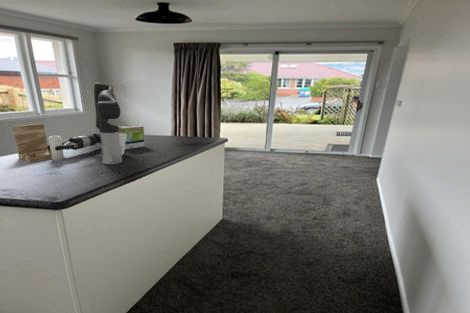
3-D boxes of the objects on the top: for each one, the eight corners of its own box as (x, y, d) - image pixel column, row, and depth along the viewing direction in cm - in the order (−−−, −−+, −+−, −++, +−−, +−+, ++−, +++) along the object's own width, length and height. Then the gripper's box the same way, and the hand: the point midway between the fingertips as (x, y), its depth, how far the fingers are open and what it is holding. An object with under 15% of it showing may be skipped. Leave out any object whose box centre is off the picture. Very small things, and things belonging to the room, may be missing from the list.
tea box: (125, 150, 165) (123, 128, 161) (117, 147, 171) (115, 126, 167) (145, 146, 177) (143, 126, 173) (137, 144, 183) (135, 124, 179)
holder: (59, 156, 144) (55, 126, 139) (31, 162, 132) (25, 129, 128) (47, 153, 151) (42, 123, 146) (19, 158, 139) (12, 126, 134)
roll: (66, 159, 141) (62, 136, 137) (55, 161, 136) (51, 137, 132) (60, 157, 143) (57, 135, 140) (50, 159, 138) (46, 136, 135)
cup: (120, 157, 147) (118, 137, 144) (102, 156, 149) (100, 135, 146) (131, 153, 159) (130, 134, 155) (115, 151, 161) (113, 132, 157)
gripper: (70, 135, 152) (41, 140, 136) (87, 137, 147) (60, 142, 132) (71, 147, 154) (43, 153, 138) (89, 149, 149) (62, 156, 134)
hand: (51, 148), depth 135 cm, fingers closed on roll, 5 cm apart
